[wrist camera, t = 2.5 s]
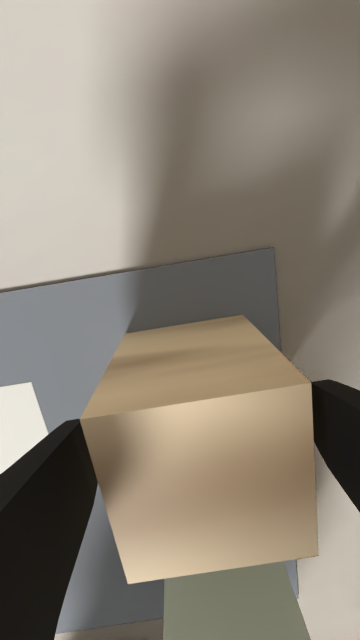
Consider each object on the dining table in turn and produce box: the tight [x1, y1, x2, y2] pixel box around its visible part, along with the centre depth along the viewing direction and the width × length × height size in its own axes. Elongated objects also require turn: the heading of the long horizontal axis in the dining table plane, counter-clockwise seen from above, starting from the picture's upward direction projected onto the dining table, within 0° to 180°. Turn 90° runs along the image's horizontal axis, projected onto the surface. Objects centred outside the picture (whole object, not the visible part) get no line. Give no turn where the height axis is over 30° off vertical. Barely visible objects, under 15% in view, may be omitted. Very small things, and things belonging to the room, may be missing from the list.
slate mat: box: [0, 248, 299, 634], centre depth 14 cm, size 20×17×1 cm
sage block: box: [163, 561, 311, 640], centre depth 12 cm, size 5×5×6 cm
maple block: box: [80, 315, 319, 584], centre depth 10 cm, size 5×5×6 cm
